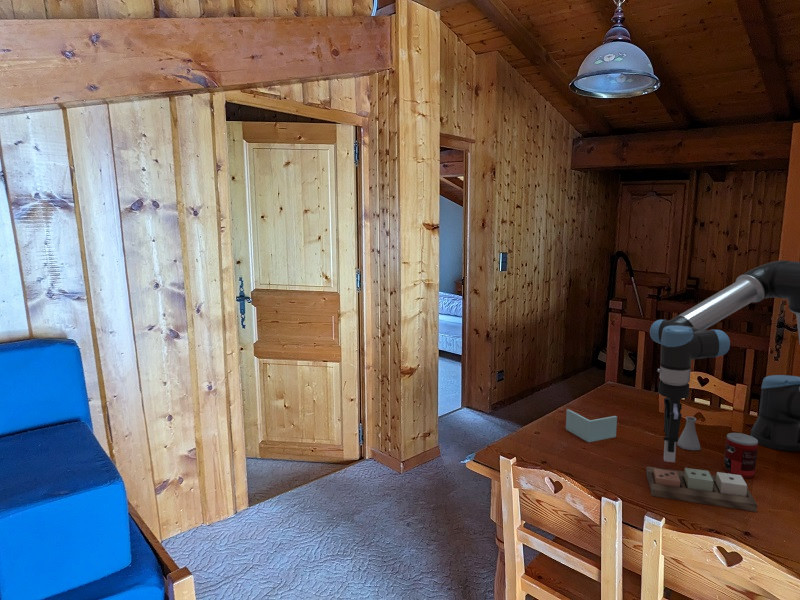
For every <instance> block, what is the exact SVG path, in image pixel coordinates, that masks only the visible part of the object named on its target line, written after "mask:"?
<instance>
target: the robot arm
mask: <svg viewBox="0 0 800 600" xmlns="http://www.w3.org/2000/svg"><path fill="white" fill-rule="evenodd" d="M769 298H770V299H772V298H774V299H775V298H776V299H782V300H783V299H784V300H787V303H788V310H789V311H790V312H792V313H793V314H794V315H795V317H796V325H797V334H798V341H799V344H800V261H793V260H784V259H783V260H776V261H771V262H766V263H765V264H761V265H759V266H756V267H754V268H751V269H750V270H748V271H746V272H744V273H742V274H741V275H739V276H737V278H736V279H735V282H734V283H732V284H730V285H729V286H727V287H725V288H724V289H722V290H720V291H718V292H716V293H715V294H712V295H711V296H709V297H707V298H705V299H704V300H703V301H701V302H699V303H698V304H696V305H694V306H692V307H691V308H689V309H687V310H685V311H684V312H681V313H680V314H678V315H677V316H675V317H673V318H671V319H670V320H668V319H657V320H655V321H654V322H653V323H652V324H651V326H650V329H649V336H650V338H651V340H652V341H653V342H655V343H657V344H659V345H660V357H659V360H660V361H659V362H660V363H659V368H657V370H656V372H658V373H659V379H660V380H659V381H658V394H659V395H661V396H662V397H664V399H663V405H664V410H663V411H664V414H663V415H664V419H663V422H664V423H663V432H664V436H663V437H662V438H663V441H664V448H663V461H664V462H668V463H676V449H677V442H678V439H679V437H680V436H679V435H680V434H679V433H680V425H681V420H682V416H683V414H682V413H681V411H682V409H683V406H682V403H681V400H682V399H687V398H689V396H690V395H689V393H690V384H689V383H690V382H691V371H692V368H691V367H692V366H691V365H692V360H699V359H708V358H709V359H710V358H712V359H713V358H717V357H721V356H724V355H727V353H728V352H729V351H730V348H731V340H730V337H729V336H728V334H727V333H726V332H724V331H723V330H721V329H708V328H710V327H712V326H714V325H715V324H717V323H718V322H720V321H721V320H724V319H726V318H727V317H729V316H731V315H732V314H734V313H736V312H737V311H739V310H741V309H743V308H744V307H746V306H748V305H749V304H751V303H760V302H761V301H763V300H764V299H769ZM707 329H708V330H707ZM760 389H761V390H760V391H761V392H760V400H759V413H758V417H757V419H756V420H755V422H754V424H753V426H752V427H751V430H750V436H752V437H754V438H756V439H757V440H758V445H761V446H762V447H766V448H769V449H773V450H777V451H783V452H784V451H785V452H799V451H800V376H796V375H785V374H776V375H775V374H772V375H768V376H765V377H763V380H762V384H761V387H760Z"/></svg>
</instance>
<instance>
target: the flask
mask: <svg viewBox="0 0 800 600" xmlns="http://www.w3.org/2000/svg"><path fill="white" fill-rule="evenodd" d="M685 420H686V422H685V427H684V429H683V430H682V432H681V434H680V436H679V437H678V442H676V446H678V447H679V448H681V449H683V450H687V451H701V445H700V444H701V443H700V441H699V438H698V435H697V434H698V433H697V431H696V422H697V418H696V417H694V416H685Z"/></svg>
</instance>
